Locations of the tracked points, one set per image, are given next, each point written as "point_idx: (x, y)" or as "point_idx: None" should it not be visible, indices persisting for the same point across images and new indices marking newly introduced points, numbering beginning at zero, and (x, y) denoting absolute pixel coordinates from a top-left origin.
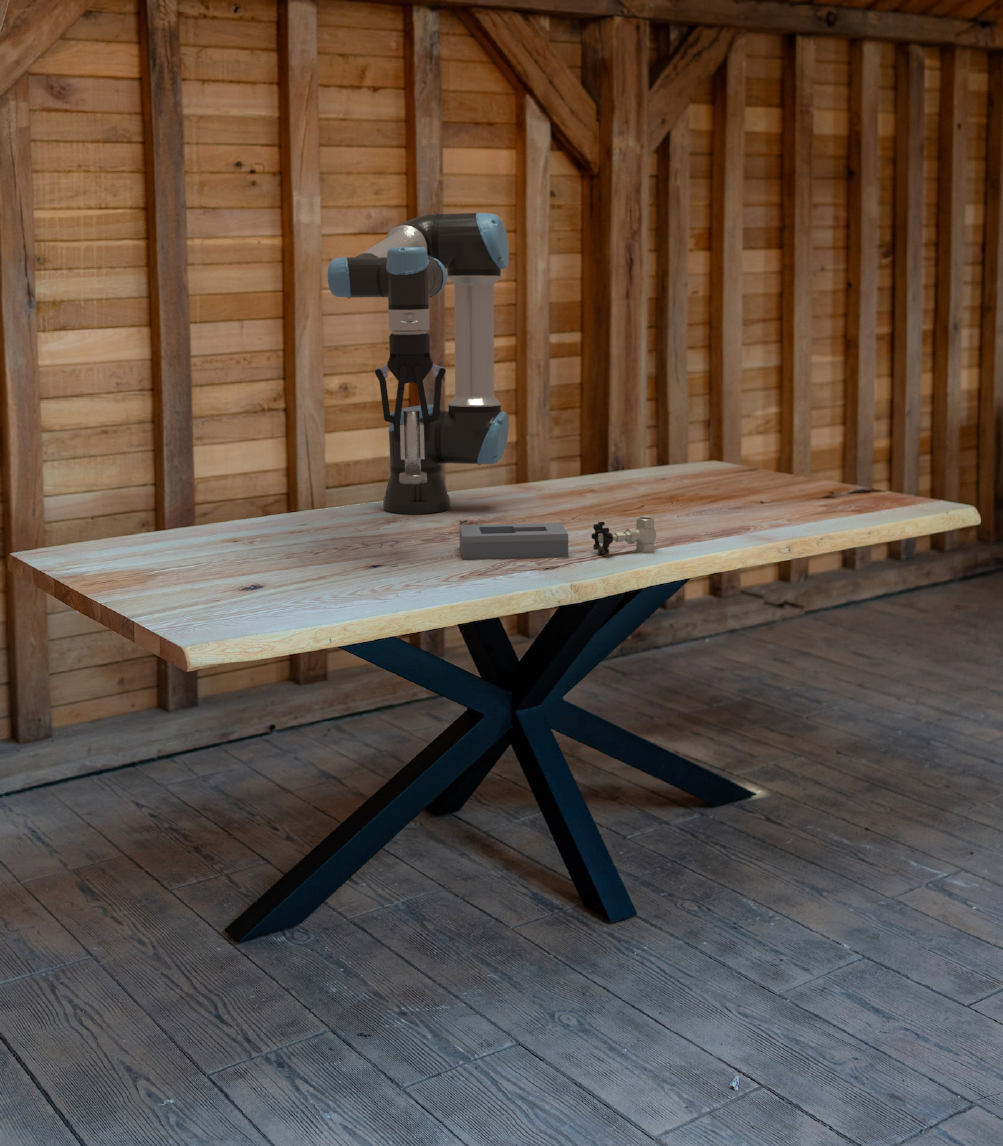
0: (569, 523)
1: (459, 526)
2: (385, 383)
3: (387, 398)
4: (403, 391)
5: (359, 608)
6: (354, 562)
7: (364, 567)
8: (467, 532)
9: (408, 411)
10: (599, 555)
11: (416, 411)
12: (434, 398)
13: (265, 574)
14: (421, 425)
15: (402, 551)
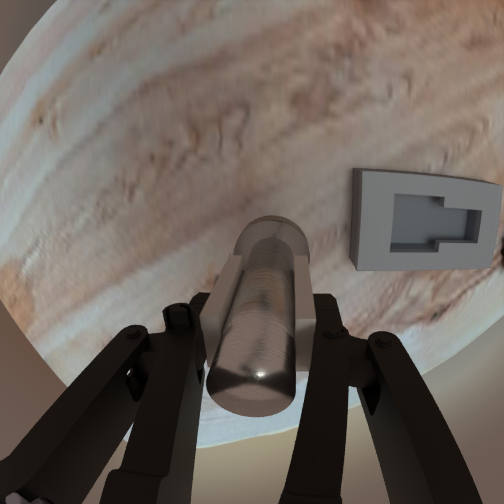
0: (495, 44)
1: (362, 175)
2: (78, 501)
3: (115, 444)
4: (188, 496)
5: (224, 424)
6: (189, 256)
7: (207, 287)
8: (369, 238)
9: (235, 402)
10: (501, 253)
11: (277, 408)
12: (381, 461)
13: (105, 302)
14: (301, 369)
15: (257, 186)
